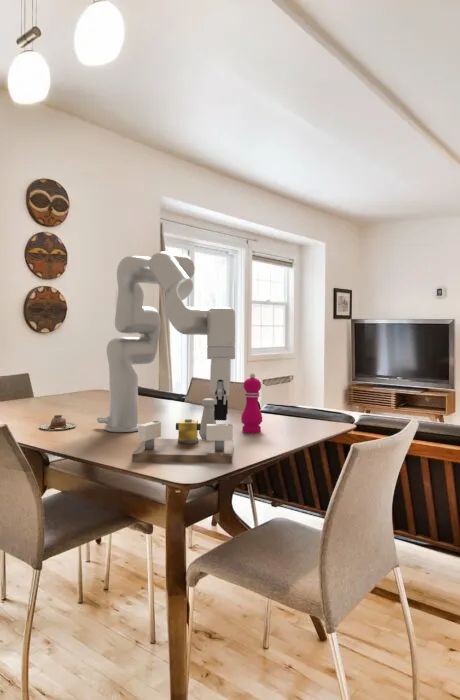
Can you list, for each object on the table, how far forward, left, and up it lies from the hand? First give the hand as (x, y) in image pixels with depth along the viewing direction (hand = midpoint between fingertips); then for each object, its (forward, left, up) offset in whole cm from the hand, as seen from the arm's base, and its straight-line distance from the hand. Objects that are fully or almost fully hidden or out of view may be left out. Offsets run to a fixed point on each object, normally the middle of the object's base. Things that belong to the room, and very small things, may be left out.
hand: (221, 417), depth 135 cm
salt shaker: (-5, +22, -11) cm, 26 cm away
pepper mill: (+9, +36, -11) cm, 39 cm away
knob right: (0, 0, -9) cm, 9 cm away
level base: (-10, +4, -11) cm, 16 cm away
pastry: (-58, +37, -12) cm, 70 cm away
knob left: (-19, 0, -9) cm, 21 cm away
